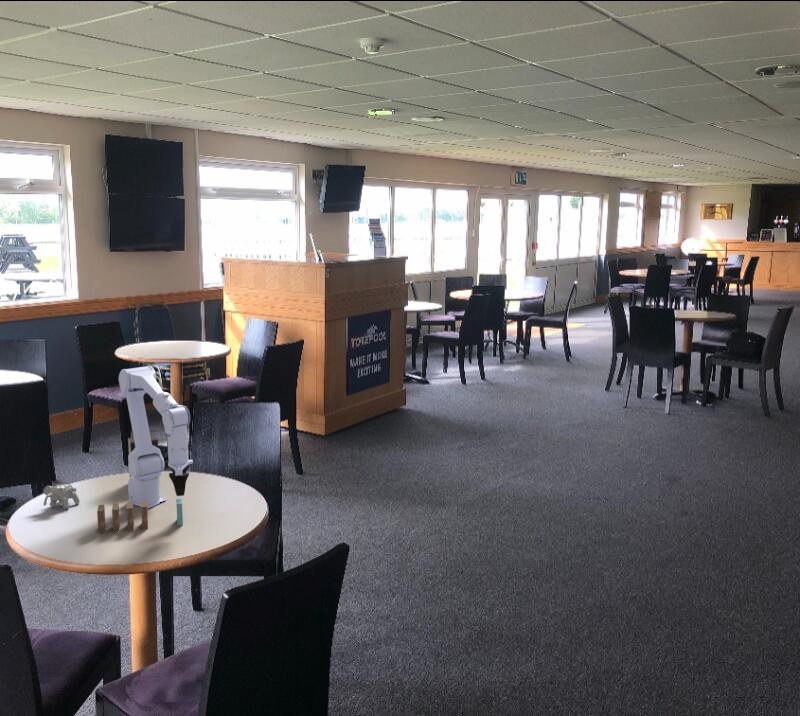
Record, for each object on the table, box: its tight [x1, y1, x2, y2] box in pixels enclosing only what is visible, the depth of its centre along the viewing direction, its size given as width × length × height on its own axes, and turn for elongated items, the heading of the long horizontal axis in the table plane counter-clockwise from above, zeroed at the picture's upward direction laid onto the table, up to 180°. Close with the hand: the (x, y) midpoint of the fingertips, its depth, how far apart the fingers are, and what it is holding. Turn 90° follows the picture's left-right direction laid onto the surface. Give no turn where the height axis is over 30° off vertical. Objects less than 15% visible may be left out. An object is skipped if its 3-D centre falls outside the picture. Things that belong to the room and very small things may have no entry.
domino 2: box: [111, 502, 121, 533], centre depth 223 cm, size 2×5×7 cm, turn 17°
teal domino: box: [175, 496, 184, 527], centre depth 228 cm, size 2×5×7 cm, turn 17°
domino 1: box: [96, 504, 107, 535], centre depth 221 cm, size 2×5×7 cm, turn 17°
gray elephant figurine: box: [43, 483, 81, 510], centre depth 237 cm, size 9×12×8 cm
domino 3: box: [126, 501, 135, 532], centre depth 224 cm, size 2×5×7 cm, turn 17°
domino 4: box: [140, 501, 149, 530], centre depth 225 cm, size 2×5×7 cm, turn 17°
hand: (180, 491), depth 226 cm, fingers open, 7 cm apart
